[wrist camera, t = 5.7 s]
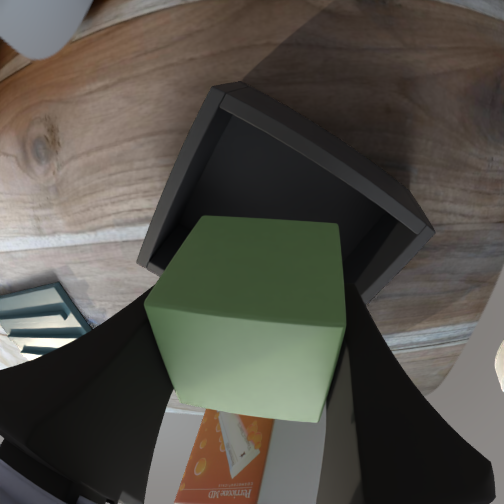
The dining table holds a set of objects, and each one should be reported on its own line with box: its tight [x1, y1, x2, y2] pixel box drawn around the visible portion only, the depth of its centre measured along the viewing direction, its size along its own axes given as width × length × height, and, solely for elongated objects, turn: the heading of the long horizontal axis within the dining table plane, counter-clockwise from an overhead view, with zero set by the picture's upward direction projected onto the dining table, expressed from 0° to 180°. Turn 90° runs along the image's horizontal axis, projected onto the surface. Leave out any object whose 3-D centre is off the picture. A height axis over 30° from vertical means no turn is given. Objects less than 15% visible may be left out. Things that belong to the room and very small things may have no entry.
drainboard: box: [0, 282, 92, 361], centre depth 30 cm, size 20×12×1 cm, turn 109°
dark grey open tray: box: [136, 81, 435, 305], centre depth 15 cm, size 10×9×4 cm
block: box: [144, 216, 346, 423], centre depth 9 cm, size 4×4×4 cm
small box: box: [174, 403, 326, 504], centre depth 18 cm, size 8×6×13 cm
